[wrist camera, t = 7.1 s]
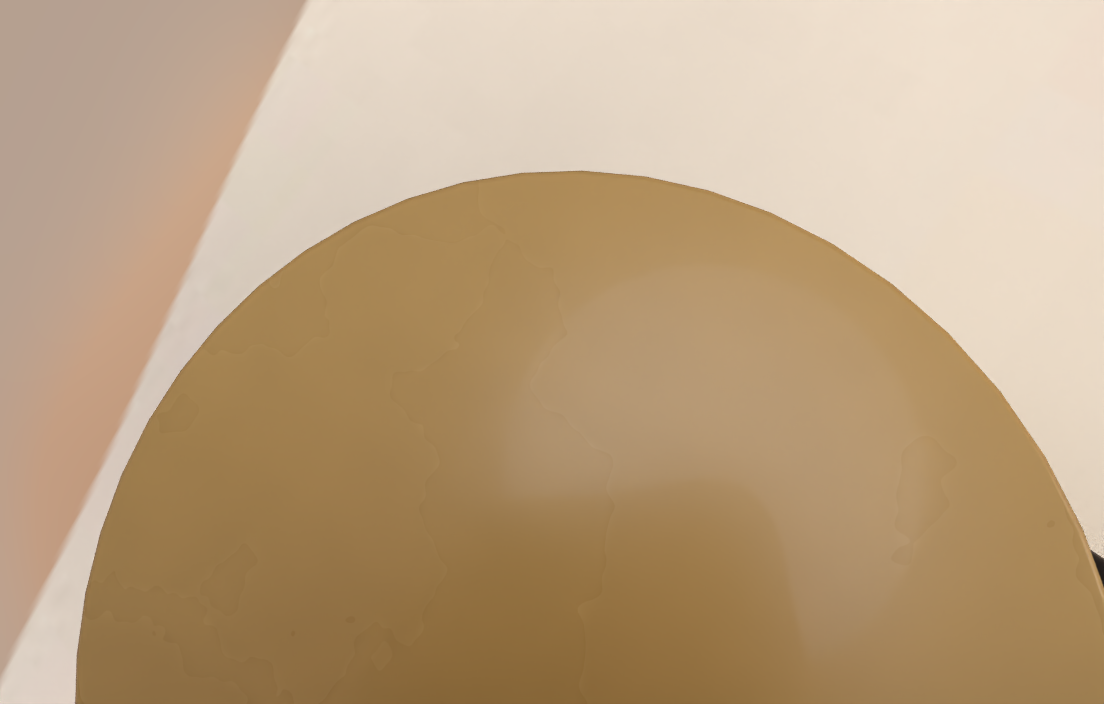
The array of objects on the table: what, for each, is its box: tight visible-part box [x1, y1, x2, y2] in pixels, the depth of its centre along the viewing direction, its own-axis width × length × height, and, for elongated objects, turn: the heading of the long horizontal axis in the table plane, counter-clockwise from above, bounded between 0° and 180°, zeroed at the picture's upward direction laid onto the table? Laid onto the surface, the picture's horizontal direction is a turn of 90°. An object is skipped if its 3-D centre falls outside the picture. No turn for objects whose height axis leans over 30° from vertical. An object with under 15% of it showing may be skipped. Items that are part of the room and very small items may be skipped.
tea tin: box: [75, 171, 1104, 704], centre depth 10 cm, size 7×7×12 cm
